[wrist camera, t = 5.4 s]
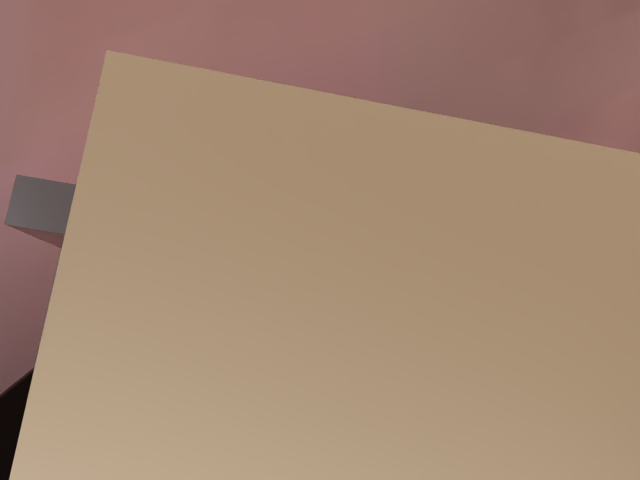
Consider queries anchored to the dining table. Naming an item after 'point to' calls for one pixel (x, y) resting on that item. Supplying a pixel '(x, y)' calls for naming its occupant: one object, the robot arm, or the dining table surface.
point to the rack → (41, 210)
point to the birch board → (334, 294)
